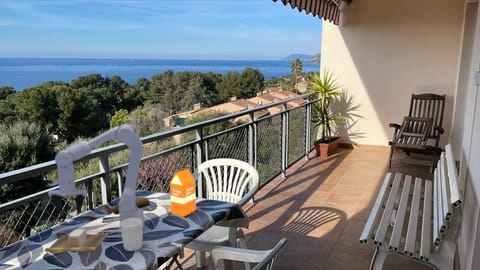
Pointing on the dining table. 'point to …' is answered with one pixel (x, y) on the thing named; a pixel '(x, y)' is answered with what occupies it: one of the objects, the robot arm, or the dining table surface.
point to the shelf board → (90, 245)
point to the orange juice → (183, 193)
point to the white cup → (132, 233)
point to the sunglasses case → (138, 203)
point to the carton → (77, 238)
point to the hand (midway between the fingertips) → (69, 213)
